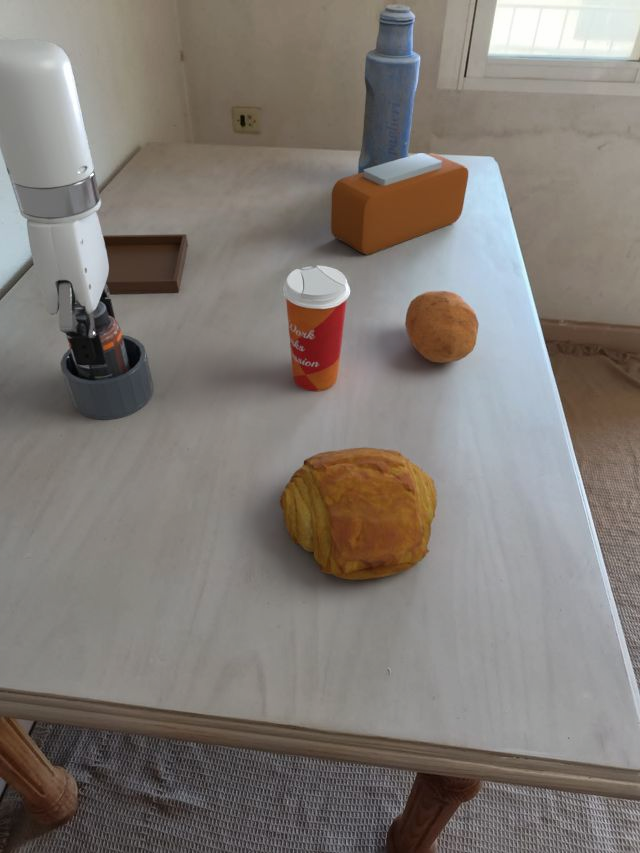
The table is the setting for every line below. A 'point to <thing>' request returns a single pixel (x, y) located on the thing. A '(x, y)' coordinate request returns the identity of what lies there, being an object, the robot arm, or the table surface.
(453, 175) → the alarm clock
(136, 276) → the walnut tray
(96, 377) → the supplement bottle
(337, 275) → the paper cup
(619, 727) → the table surface
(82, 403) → the grey cup
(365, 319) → the table surface
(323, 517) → the croissant
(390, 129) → the bottle
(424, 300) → the potato
